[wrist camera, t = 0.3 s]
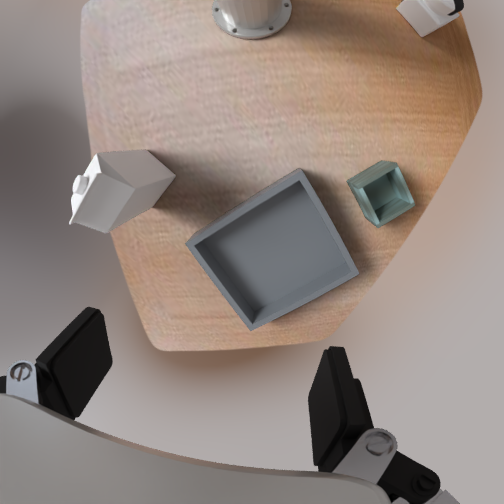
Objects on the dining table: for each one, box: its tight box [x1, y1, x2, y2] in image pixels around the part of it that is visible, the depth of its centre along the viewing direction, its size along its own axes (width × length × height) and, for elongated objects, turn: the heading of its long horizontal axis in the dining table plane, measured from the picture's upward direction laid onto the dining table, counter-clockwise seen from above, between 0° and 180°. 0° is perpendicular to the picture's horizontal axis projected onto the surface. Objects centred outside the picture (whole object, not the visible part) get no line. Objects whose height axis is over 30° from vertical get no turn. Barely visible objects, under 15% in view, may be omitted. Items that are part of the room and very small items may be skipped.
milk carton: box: [69, 149, 176, 233], centre depth 35 cm, size 7×7×19 cm
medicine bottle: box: [396, 0, 464, 37], centre depth 24 cm, size 7×7×12 cm
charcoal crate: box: [185, 168, 359, 331], centre depth 45 cm, size 18×20×5 cm
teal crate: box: [347, 161, 415, 228], centre depth 40 cm, size 7×7×6 cm
